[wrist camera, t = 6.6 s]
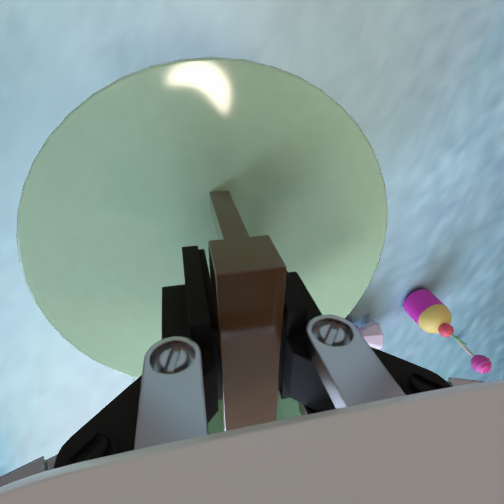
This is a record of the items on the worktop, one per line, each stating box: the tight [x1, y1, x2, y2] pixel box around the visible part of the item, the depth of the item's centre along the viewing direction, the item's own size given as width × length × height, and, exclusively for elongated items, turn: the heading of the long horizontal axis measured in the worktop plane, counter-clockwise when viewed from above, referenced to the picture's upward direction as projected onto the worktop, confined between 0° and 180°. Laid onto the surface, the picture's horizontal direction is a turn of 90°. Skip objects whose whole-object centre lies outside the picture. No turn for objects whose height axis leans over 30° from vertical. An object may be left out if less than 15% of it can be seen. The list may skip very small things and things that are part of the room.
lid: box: [17, 57, 387, 431], centre depth 12 cm, size 14×14×6 cm
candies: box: [352, 289, 492, 374], centre depth 32 cm, size 18×8×6 cm, turn 84°
